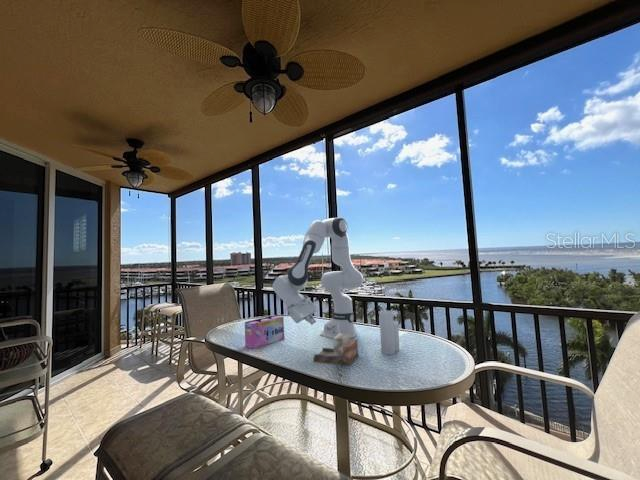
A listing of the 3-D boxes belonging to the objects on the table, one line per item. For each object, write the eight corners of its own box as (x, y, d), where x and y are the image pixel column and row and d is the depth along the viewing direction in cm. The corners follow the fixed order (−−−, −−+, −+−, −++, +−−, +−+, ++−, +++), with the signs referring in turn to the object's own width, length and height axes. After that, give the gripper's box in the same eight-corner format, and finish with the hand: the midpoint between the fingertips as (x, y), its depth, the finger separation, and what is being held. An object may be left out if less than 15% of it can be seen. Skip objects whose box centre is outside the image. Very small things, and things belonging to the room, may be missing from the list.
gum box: (278, 336, 183) (277, 314, 183) (286, 338, 177) (285, 315, 178) (244, 346, 165) (244, 322, 166) (252, 349, 160) (252, 323, 161)
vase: (392, 356, 141) (389, 313, 142) (378, 353, 145) (376, 312, 146) (401, 349, 150) (398, 309, 151) (387, 347, 154) (385, 308, 155)
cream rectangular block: (334, 357, 136) (333, 337, 137) (340, 352, 144) (339, 333, 144) (344, 358, 134) (343, 338, 135) (349, 353, 142) (349, 334, 142)
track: (313, 361, 138) (312, 343, 138) (324, 352, 150) (323, 336, 150) (350, 365, 131) (349, 347, 131) (358, 355, 143) (357, 339, 143)
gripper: (289, 303, 140) (309, 325, 137) (308, 294, 159) (325, 313, 155) (281, 311, 142) (300, 333, 138) (301, 302, 161) (318, 321, 157)
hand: (314, 323), depth 147 cm, fingers closed
